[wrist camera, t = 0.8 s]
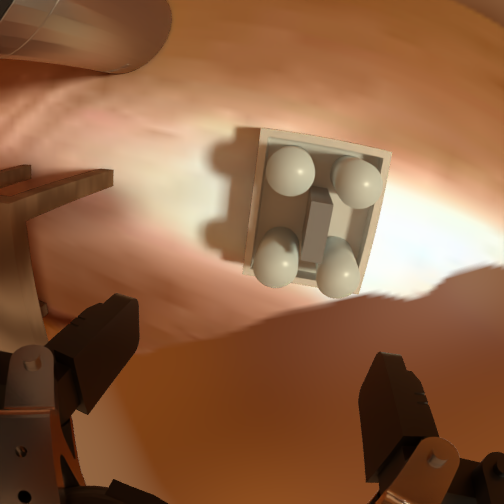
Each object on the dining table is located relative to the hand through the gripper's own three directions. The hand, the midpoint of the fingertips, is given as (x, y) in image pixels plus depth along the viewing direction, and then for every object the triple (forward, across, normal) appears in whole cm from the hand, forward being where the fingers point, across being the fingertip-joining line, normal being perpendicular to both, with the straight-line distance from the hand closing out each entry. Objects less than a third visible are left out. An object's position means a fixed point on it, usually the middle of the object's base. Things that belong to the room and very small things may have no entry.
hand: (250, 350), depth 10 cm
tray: (+19, -2, -1) cm, 19 cm away
